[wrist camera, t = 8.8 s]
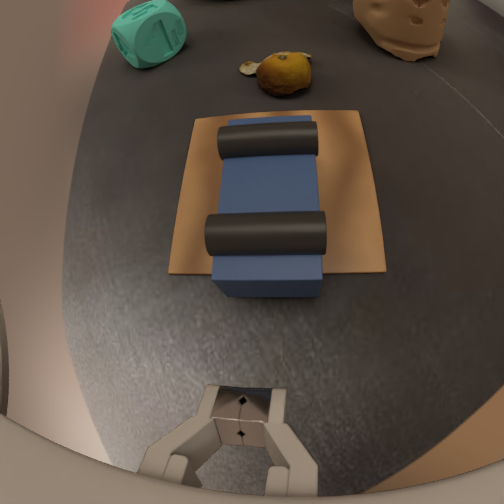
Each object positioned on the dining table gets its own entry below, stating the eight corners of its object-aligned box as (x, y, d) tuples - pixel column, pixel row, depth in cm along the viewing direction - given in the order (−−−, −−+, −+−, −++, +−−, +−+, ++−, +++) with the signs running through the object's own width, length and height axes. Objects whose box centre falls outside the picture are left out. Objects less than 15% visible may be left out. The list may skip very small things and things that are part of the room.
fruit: (304, 53, 31) (302, 29, 28) (332, 91, 28) (333, 63, 24) (238, 67, 32) (232, 43, 28) (254, 108, 28) (249, 80, 25)
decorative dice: (145, 74, 34) (123, 30, 27) (125, 62, 37) (104, 23, 30) (193, 45, 35) (177, 1, 28) (167, 36, 38) (151, -3, 31)
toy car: (199, 272, 15) (221, 106, 20) (227, 300, 21) (238, 160, 26) (328, 271, 14) (313, 100, 19) (320, 300, 20) (313, 157, 25)
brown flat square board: (169, 274, 23) (167, 273, 23) (196, 121, 29) (195, 119, 29) (385, 272, 21) (386, 271, 20) (357, 112, 26) (357, 110, 26)
